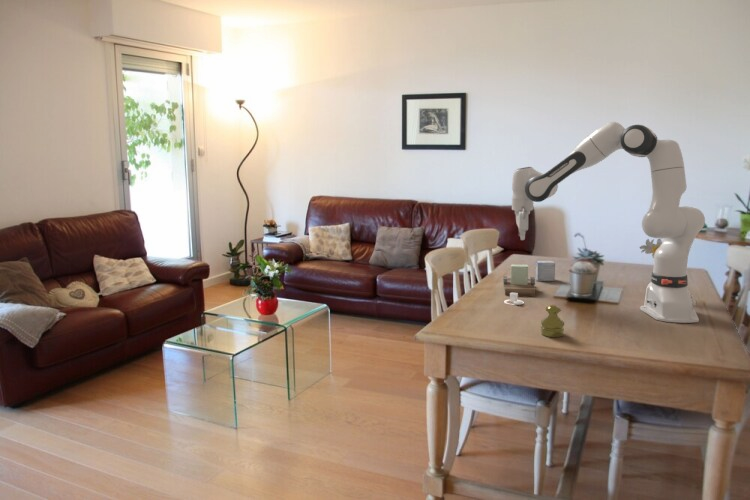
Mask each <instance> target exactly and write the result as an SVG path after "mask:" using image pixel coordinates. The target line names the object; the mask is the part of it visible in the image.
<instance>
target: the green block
mask: <svg viewBox="0 0 750 500" xmlns="http://www.w3.org/2000/svg"><path fill="white" fill-rule="evenodd" d="M510 278H511V280H510V282H511V284H513V285H528V279H529V265H528V264H510Z"/></svg>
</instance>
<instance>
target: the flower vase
mask: <svg viewBox="0 0 750 500" xmlns="http://www.w3.org/2000/svg"><path fill="white" fill-rule="evenodd" d="M654 241H655V238H653V239H651V241H650V239H649V238H646V241H645V244H644V245H643V244H642V245H641V246H639V249H640V250H641V254H642V253H644V252H645V254H646V255H651V257H652V258H653V259H654V254H655V252H656V250H657V249H658V248H659V247H660V246H661V244H662V242H663V241H662V239H659V238H657V240H656V243H654ZM651 283H652V282H651V281H650V282H649V283H648V285H647V286H646V288H647V287H649V286H650V285H651Z"/></svg>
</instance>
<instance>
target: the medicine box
mask: <svg viewBox="0 0 750 500" xmlns="http://www.w3.org/2000/svg"><path fill="white" fill-rule="evenodd" d="M535 264H536V265H535V281H536V282H554V281H555V279H556V278H555V277H556V263H555V262H554V261H553V260H536V263H535Z"/></svg>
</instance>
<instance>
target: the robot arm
mask: <svg viewBox="0 0 750 500" xmlns="http://www.w3.org/2000/svg"><path fill="white" fill-rule="evenodd" d="M618 150H624V151H625V152H626V153H628V155H631V156H634V157H638V158H647V159H648V161H649V167H650V168H649V169H650V176H651V177H650V178H651V187H652V195H651V202H650V205H649V208H648V210H647V212H646V213H645V214H644V215H643V217H642V221H641V227H642V231H643V233H644V234H645V235H646V236H648V237H650V238H653V239H661V240H663V241H662V244H661V246H660V247H659V248H658V249H657V250H656V252H655V254H654V258H653V270H652V272H651V275H650V278H651V279H650V283H651V282H652V283H651V285H650V286H649V287H647V286H646V289H645V298H644V305H640V307H639V310H641V311H642V312H644V313H645V314H647V315H648V316H650V317H651V318H653V319H655V320H656V321H660V322H667V323H678V324H679V323H683V324H687V323H688V324H689V323H690V324H692V323H699V320H700V319H699V316H698V314H697V312H696V310H695V308H693V307H696V306H697V301H696V299H692V298H693V294H691V293H690V289H689V288H688V285H689V283H688V281H689V279H688V275H687V271H688V261H689V254H690V251H691V248H692V245H693V243H694V241H695V239H696V237H697V235H698V234H699V233H700V231H701V230H702V229H703V228H704V226H705V225H706V218H705V215H704V212H702V211H701V209H699V208H697V207H692V206H680V200H681V199H682V195H683V194H684V193H685V192H686V191H687V180H686V179H687V178H686V172H685V171H686V170H685V163H684V157H683V153H682V150H681V148H680V144H679V143H678V141H675V140H673V139H658V137H657V135H656V133H654V131H653V130H652V129H651V128H649V127H647V126H645V125H642V124H634V125H633V124H632V125H630V126H627V128H625V127H624V126H623V125H622V124H621V123H619V122H616V121H609V122H608V123H605V124H604V125H602V126H600V127H599V128H597V129H595V130H594V131H593V132H591V133H590V134H589V135H587V136H586V137H585V138H584V139H583V140H581V141H580V143H578V144H577V146H575V148H574V149H572V150H571V152H570V153H569V154H568V155H567V156H566V157H565V158H564V159H563V160H561V161H560V162H559V163H557V164H556V165H554V166H553V167H551V169H549V170H548V171H547V172H545V173H543V172H540V171H538V170H536V169H534V167H532V166H526V167H521V168H517V169H515V170H514V172H513V174H512V187H511V189H512V197H511V210H512V211H514V215H515V222H516V226H517V228H518V237H520V241H524V240H525V239H526V232H527V231H528V230H529V215H530V214H531V212H532V211H533V210H534V202H537V203H541V202H543V201H545V200H546V199H549V198H551V197H553V196H554V195H555V194H556V192H557V191H558V188H559V184H560V183H561V182H562V181H564V180H566V179H567V178H568V177H569V176H571V175H572V174H575V173H576V172H578V171H581V170H585V169H588V168H591V167H593V166H595V165H597V164H599V163H600V162H602V161H603V160H605V159H607V158H608V157H609V156H611V155H612V154H614V153H615V152H616V151H618Z"/></svg>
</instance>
